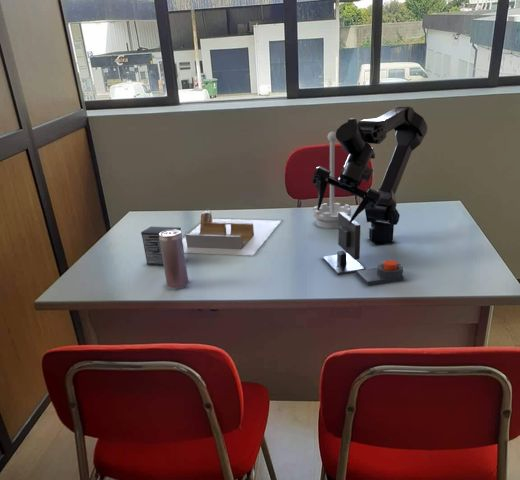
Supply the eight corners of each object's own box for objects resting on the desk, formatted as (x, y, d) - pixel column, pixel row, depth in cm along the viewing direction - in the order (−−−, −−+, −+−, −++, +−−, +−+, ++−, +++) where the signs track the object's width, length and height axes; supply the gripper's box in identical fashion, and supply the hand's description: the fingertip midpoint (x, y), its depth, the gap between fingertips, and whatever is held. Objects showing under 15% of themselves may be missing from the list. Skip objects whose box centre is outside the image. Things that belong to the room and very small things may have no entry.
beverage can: (168, 281, 147) (159, 230, 139) (189, 279, 147) (181, 228, 140) (166, 290, 142) (157, 237, 134) (188, 288, 142) (180, 235, 134)
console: (393, 269, 144) (393, 259, 143) (406, 280, 137) (407, 269, 136) (356, 274, 143) (356, 264, 141) (368, 286, 136) (368, 275, 134)
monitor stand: (348, 255, 155) (348, 243, 153) (365, 271, 144) (365, 258, 142) (322, 259, 154) (322, 246, 152) (337, 275, 143) (337, 262, 141)
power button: (393, 265, 140) (394, 259, 139) (399, 270, 137) (400, 263, 136) (381, 267, 139) (381, 261, 139) (386, 272, 136) (387, 265, 136)
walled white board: (166, 251, 169) (163, 229, 165) (206, 218, 197) (204, 198, 193) (252, 255, 161) (250, 231, 157) (281, 220, 189) (280, 199, 185)
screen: (343, 244, 153) (343, 212, 148) (359, 259, 142) (361, 225, 137) (334, 245, 153) (334, 213, 148) (350, 260, 142) (351, 226, 137)
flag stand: (353, 227, 177) (355, 133, 162) (314, 230, 178) (313, 136, 162) (348, 216, 188) (350, 127, 173) (312, 218, 189) (310, 130, 173)
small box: (186, 259, 161) (181, 226, 156) (177, 267, 156) (171, 233, 151) (156, 257, 165) (150, 225, 159) (146, 265, 159) (140, 232, 154)
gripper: (329, 136, 132) (305, 191, 131) (397, 165, 132) (373, 221, 131) (322, 155, 143) (300, 206, 142) (385, 182, 143) (363, 233, 142)
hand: (333, 216), depth 139 cm, fingers open, 9 cm apart
